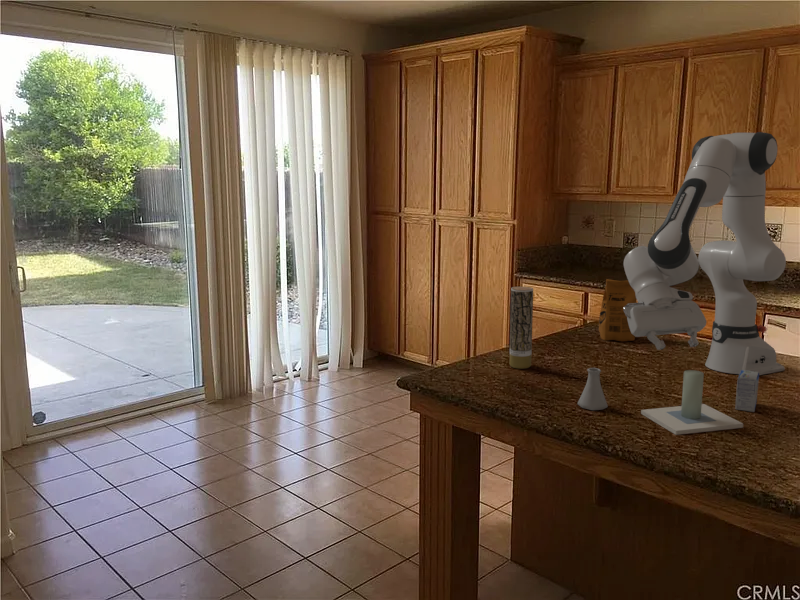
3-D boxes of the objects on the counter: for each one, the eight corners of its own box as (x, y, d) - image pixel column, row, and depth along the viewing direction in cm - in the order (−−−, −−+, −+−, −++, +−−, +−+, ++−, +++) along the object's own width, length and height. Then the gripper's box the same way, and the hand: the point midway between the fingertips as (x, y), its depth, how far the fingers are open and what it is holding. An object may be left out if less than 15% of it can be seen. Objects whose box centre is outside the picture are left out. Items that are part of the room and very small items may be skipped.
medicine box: (754, 412, 164) (757, 379, 162) (734, 409, 166) (737, 377, 164) (756, 403, 170) (759, 371, 168) (737, 400, 172) (740, 369, 171)
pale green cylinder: (692, 412, 161) (695, 369, 159) (704, 418, 157) (707, 374, 155) (677, 413, 160) (679, 370, 158) (688, 420, 156) (691, 376, 154)
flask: (592, 413, 165) (593, 375, 163) (572, 404, 171) (573, 368, 169) (613, 408, 168) (615, 371, 166) (592, 399, 174) (594, 363, 172)
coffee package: (597, 334, 244) (599, 276, 240) (631, 335, 242) (635, 277, 238) (600, 341, 234) (603, 281, 230) (636, 342, 232) (640, 281, 228)
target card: (703, 407, 168) (703, 403, 167) (742, 427, 154) (743, 423, 154) (641, 413, 164) (641, 409, 163) (675, 434, 150) (676, 430, 150)
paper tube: (531, 370, 201) (533, 290, 196) (508, 369, 202) (510, 290, 198) (531, 363, 208) (533, 286, 203) (509, 362, 209) (511, 286, 204)
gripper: (626, 297, 166) (647, 343, 158) (696, 292, 170) (719, 337, 163) (616, 310, 171) (635, 356, 163) (684, 305, 175) (706, 350, 168)
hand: (678, 346), depth 163 cm, fingers open, 8 cm apart
